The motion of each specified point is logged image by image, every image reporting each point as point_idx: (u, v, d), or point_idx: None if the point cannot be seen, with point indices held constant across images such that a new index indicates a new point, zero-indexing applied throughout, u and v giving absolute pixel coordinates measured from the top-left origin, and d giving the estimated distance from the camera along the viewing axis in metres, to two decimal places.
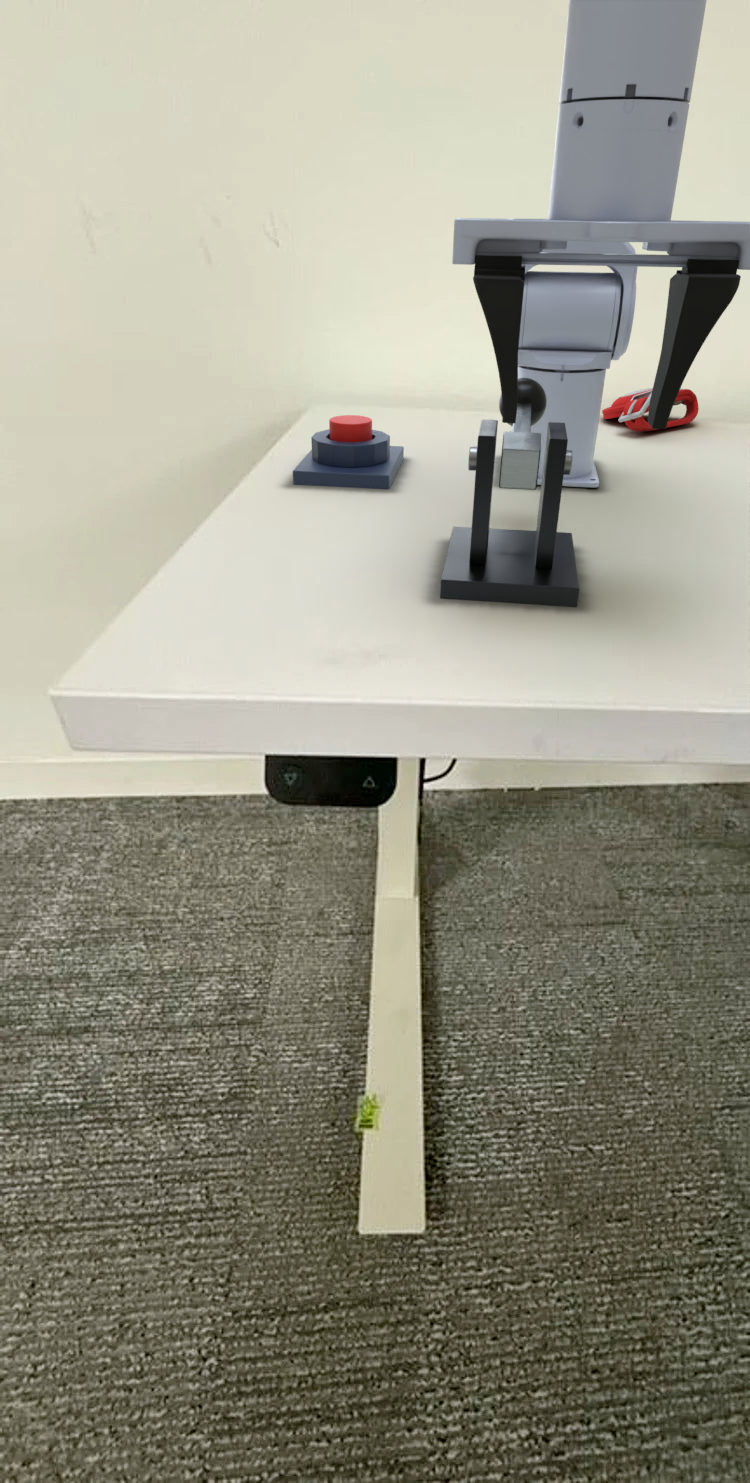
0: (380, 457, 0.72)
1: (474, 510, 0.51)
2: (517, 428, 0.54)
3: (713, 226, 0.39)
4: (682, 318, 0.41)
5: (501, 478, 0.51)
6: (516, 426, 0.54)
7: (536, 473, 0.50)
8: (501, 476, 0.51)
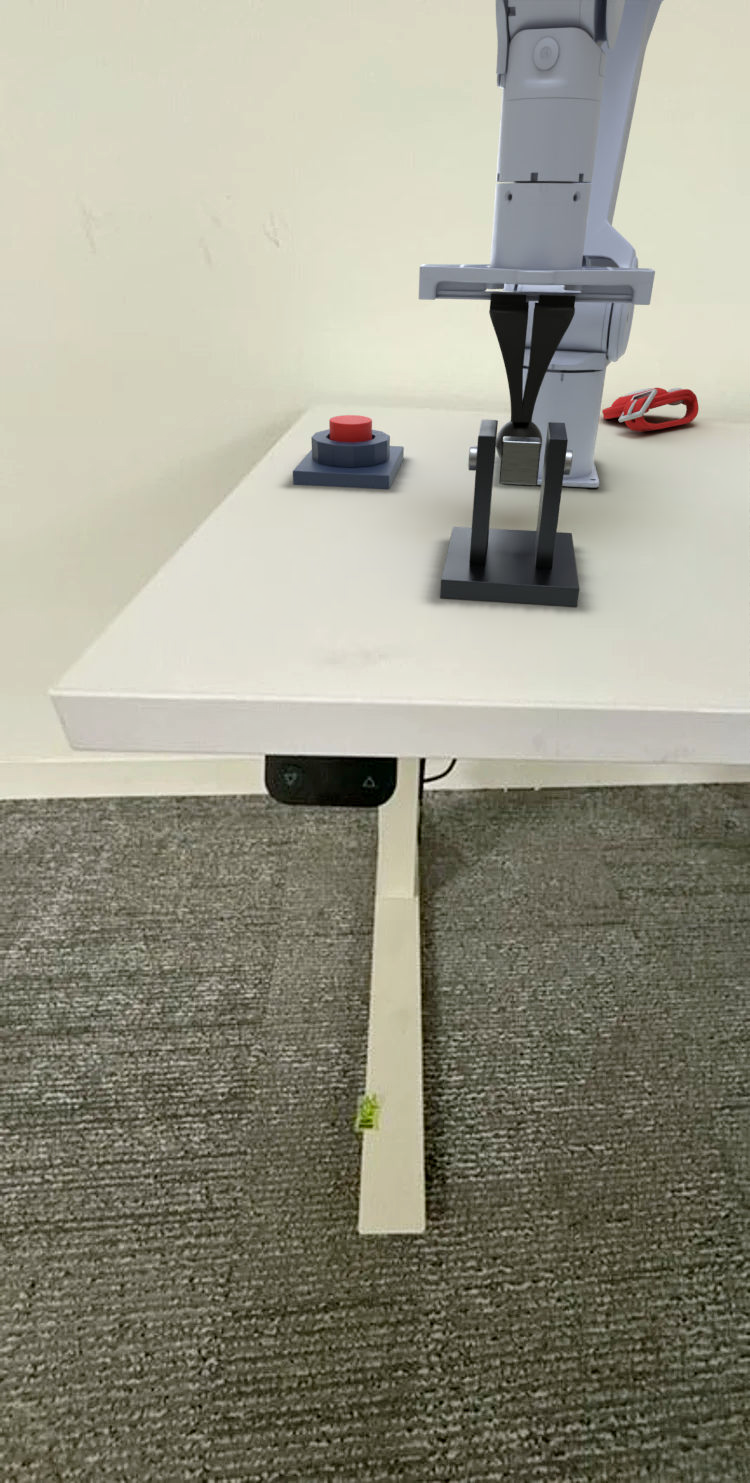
0: (380, 457, 0.72)
1: (474, 510, 0.51)
2: None
3: (611, 273, 0.53)
4: (534, 339, 0.55)
5: (501, 472, 0.50)
6: None
7: (537, 467, 0.50)
8: (501, 470, 0.50)
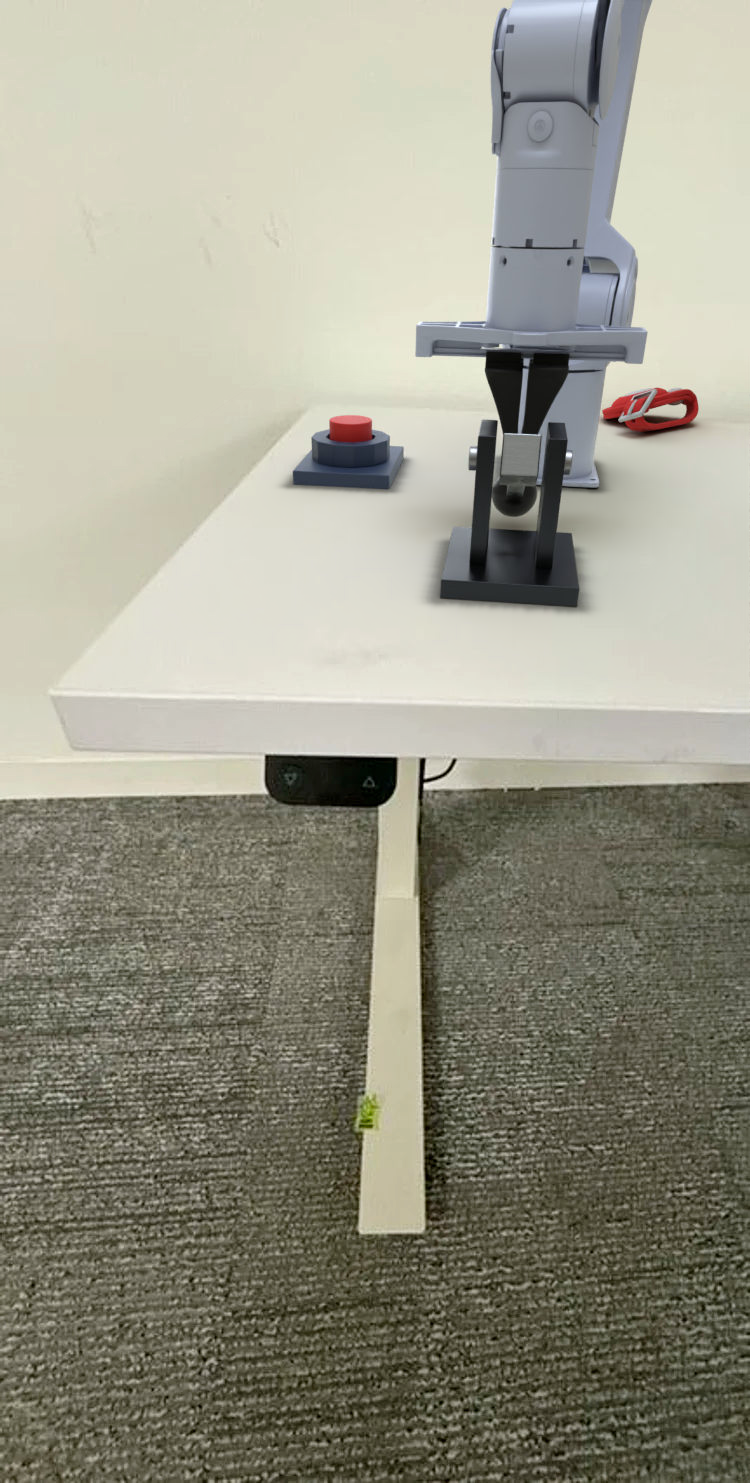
0: (380, 457, 0.72)
1: (474, 510, 0.51)
2: None
3: (604, 334, 0.54)
4: (529, 397, 0.56)
5: (502, 464, 0.50)
6: None
7: (538, 458, 0.50)
8: (502, 461, 0.50)
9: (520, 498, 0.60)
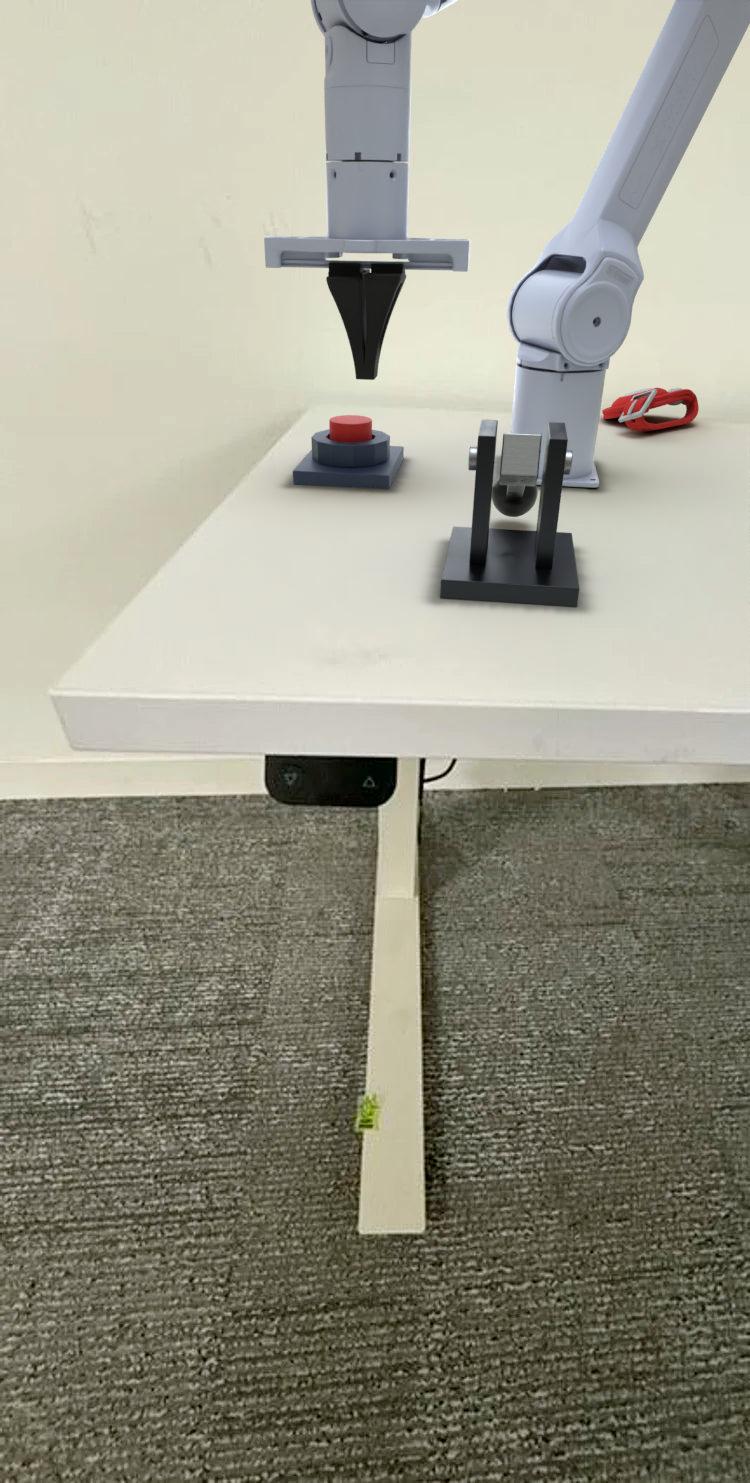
0: (380, 457, 0.72)
1: (474, 510, 0.51)
2: None
3: (430, 242, 0.59)
4: (367, 302, 0.61)
5: (502, 464, 0.50)
6: None
7: (538, 458, 0.50)
8: (502, 461, 0.50)
9: (520, 498, 0.60)
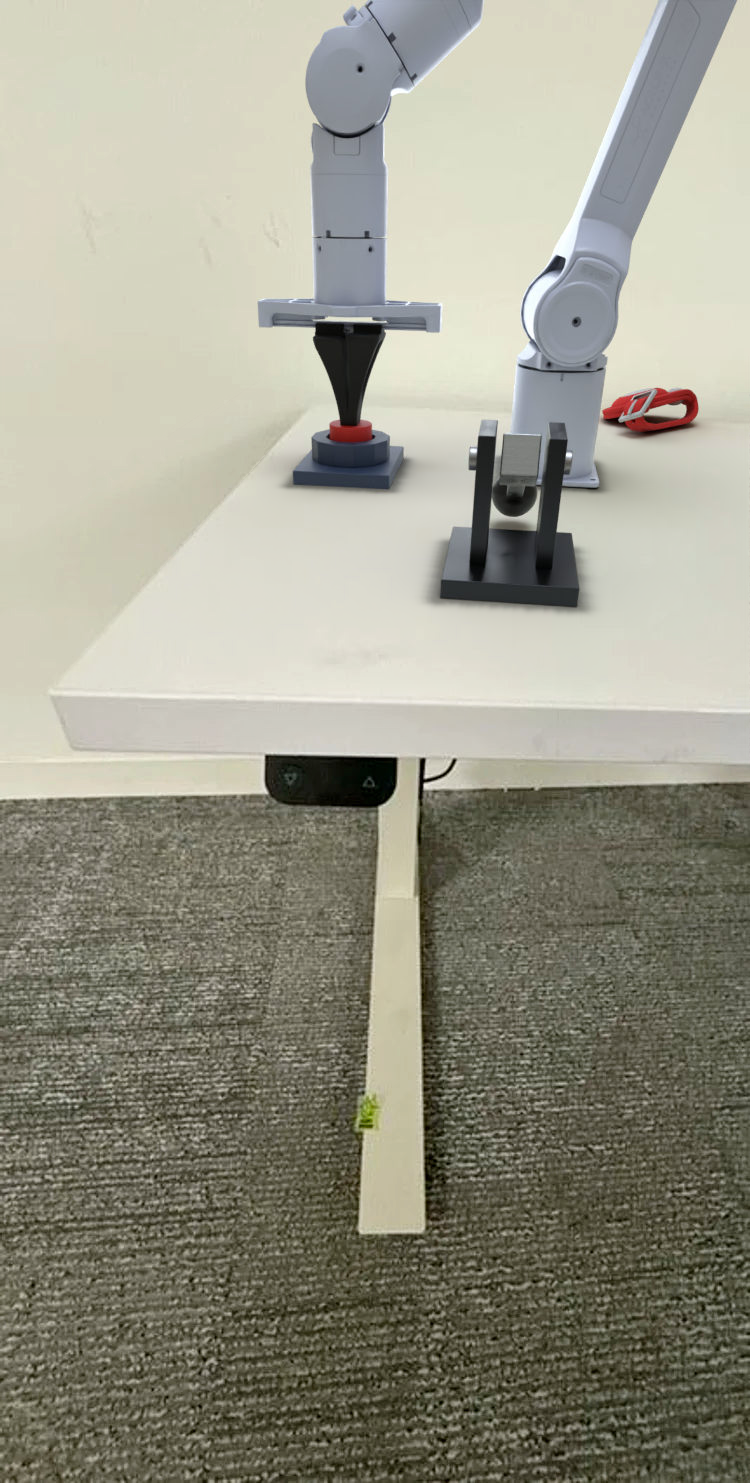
0: (380, 457, 0.72)
1: (474, 510, 0.51)
2: None
3: (405, 307, 0.66)
4: (349, 359, 0.68)
5: (502, 464, 0.50)
6: None
7: (538, 458, 0.50)
8: (502, 461, 0.50)
9: (520, 498, 0.60)
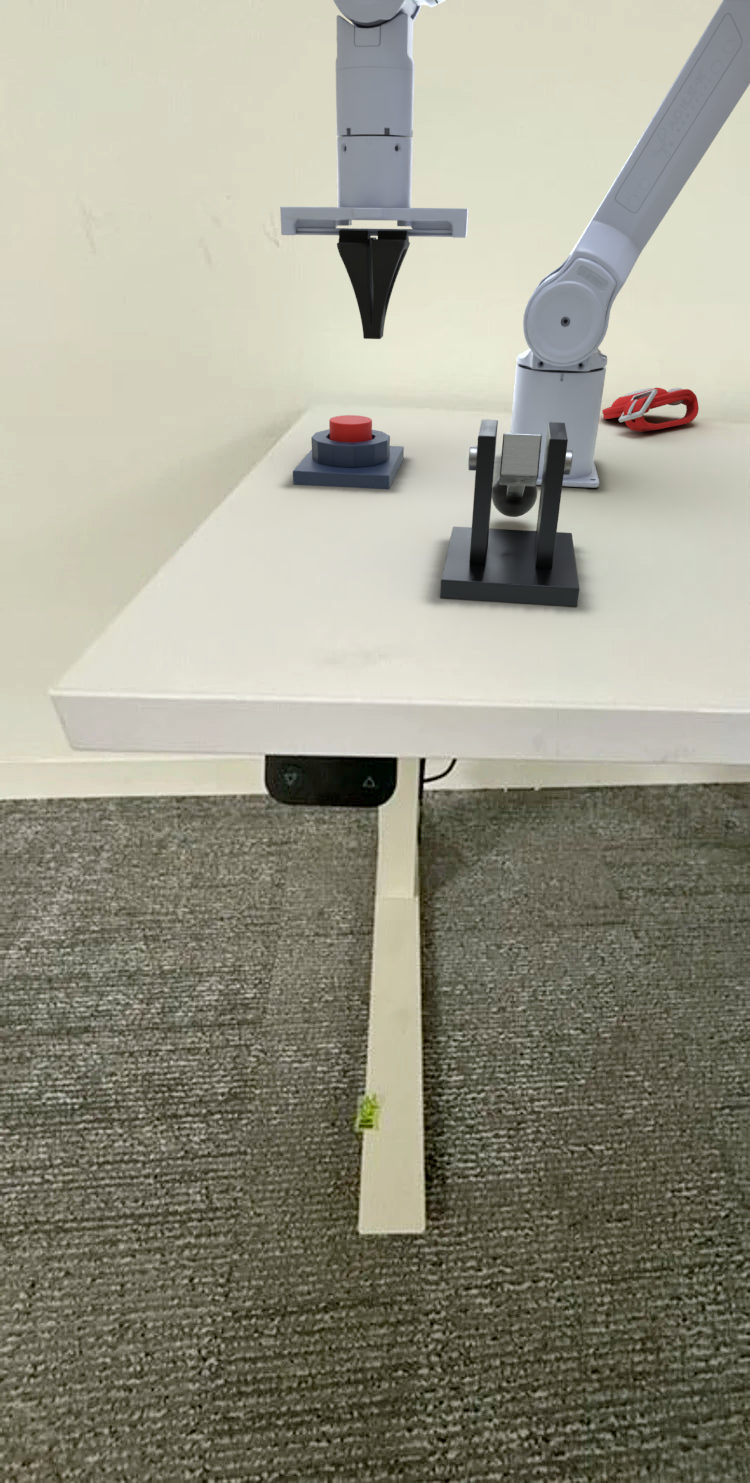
0: (380, 457, 0.72)
1: (474, 510, 0.51)
2: None
3: (431, 210, 0.65)
4: (374, 266, 0.67)
5: (502, 464, 0.50)
6: None
7: (538, 458, 0.50)
8: (502, 461, 0.50)
9: (520, 498, 0.60)
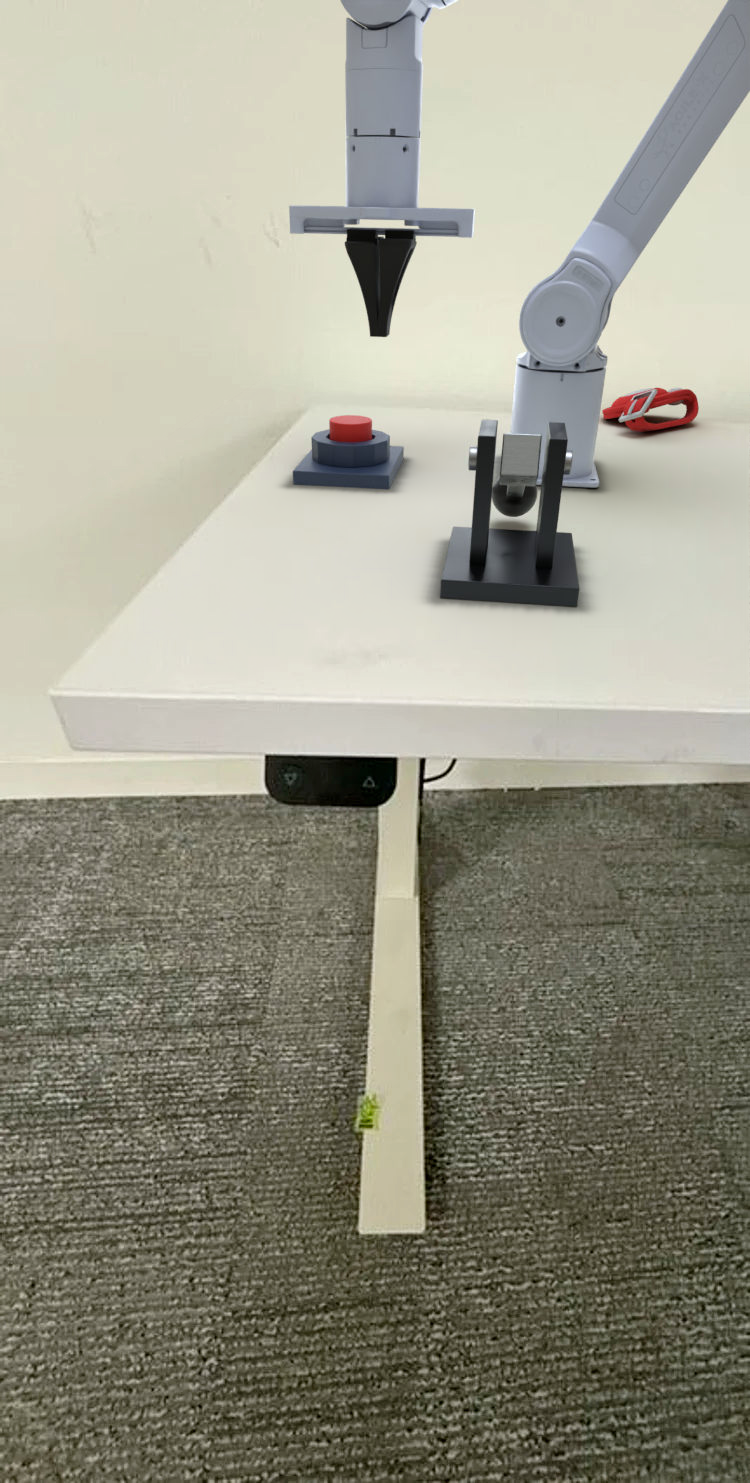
0: (380, 457, 0.72)
1: (474, 510, 0.51)
2: None
3: (438, 211, 0.66)
4: (381, 265, 0.68)
5: (502, 464, 0.50)
6: None
7: (538, 458, 0.50)
8: (502, 461, 0.50)
9: (520, 498, 0.60)
